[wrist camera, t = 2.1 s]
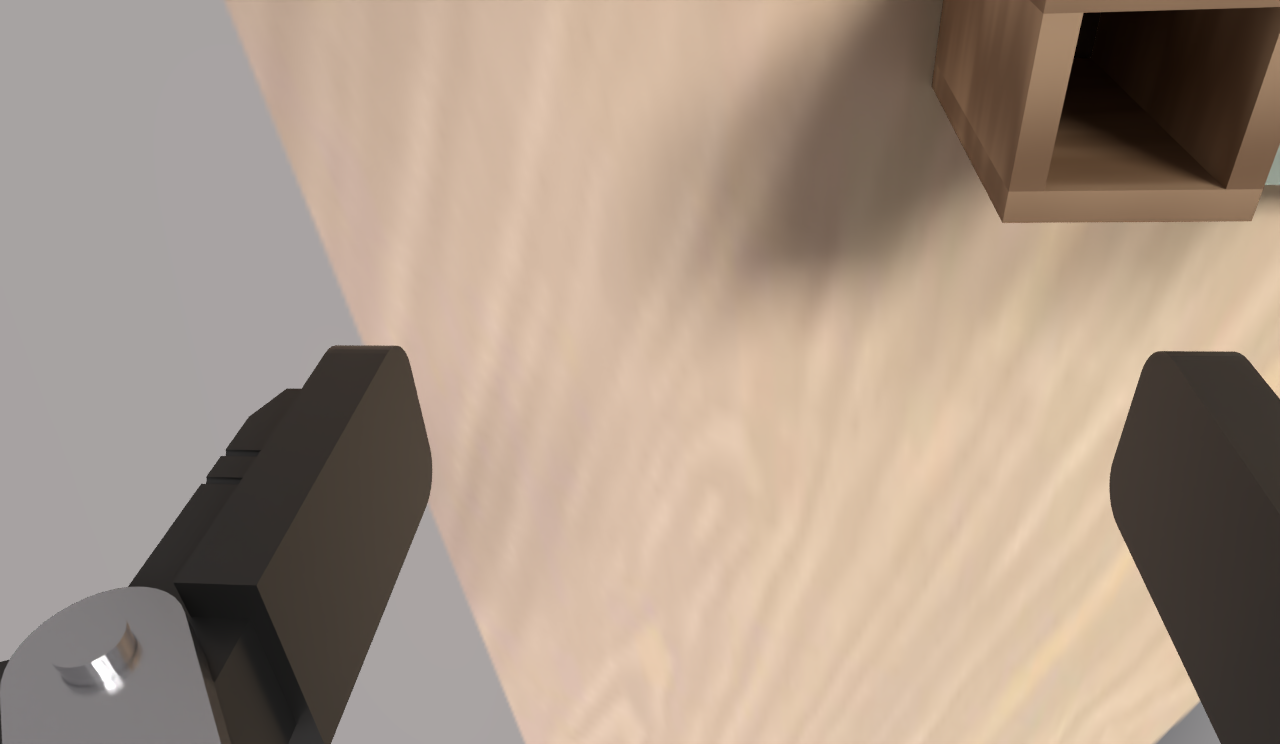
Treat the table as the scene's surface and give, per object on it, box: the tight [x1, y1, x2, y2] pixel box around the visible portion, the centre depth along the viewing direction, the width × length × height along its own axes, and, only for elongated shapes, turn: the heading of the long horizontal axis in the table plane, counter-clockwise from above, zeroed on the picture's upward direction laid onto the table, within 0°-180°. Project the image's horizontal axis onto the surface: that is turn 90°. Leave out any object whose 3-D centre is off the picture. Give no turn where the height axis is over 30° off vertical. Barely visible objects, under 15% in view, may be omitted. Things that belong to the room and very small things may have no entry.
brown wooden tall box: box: [932, 0, 1280, 223], centre depth 24 cm, size 6×6×10 cm
